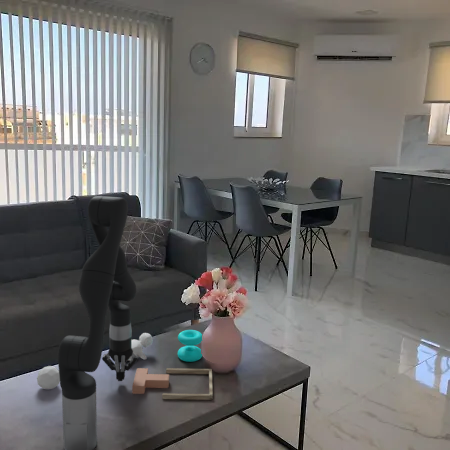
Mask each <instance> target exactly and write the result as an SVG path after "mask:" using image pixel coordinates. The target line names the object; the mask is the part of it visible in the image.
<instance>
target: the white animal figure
mask: <svg viewBox="0 0 450 450" xmlns="http://www.w3.org/2000/svg"><path fill="white" fill-rule="evenodd" d="M153 342H154V340H153V337H152V335H151V334H150V333H148V332H143V333H141V335H139V338H138V339H132V341H131V348H132V350H133V353H134V354H135V355H138V356H139V357H138V358H141V359H142V360H147V359H148V357H147V356H146V354H145V353H144V352H143V348H148V347H149V346H152V344H153ZM131 357H132V356H131ZM131 357H130V358H129V359H128V361H129V362H130V361H131Z"/></svg>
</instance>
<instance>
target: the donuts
mask: <svg viewBox="0 0 450 450" xmlns="http://www.w3.org/2000/svg"><path fill="white" fill-rule="evenodd" d="M202 335H203V334H202V332H201V331H198V330H195V329H185V330H183V331H181V332H180V333H179V334H178V335H177V339H178V342H179V343H180V344H182V345H184V346H181V347H180V348H179V349H178V350H177V357H178V358H179V360H181V361H183V362H186V363H191V362H192V363H194V362H198V361H199V360H200V359H202V357H203V355H202V354H201V350H202V349H201V348H200V347H198V346H197V345H199V344H201V343H202V342H203V340H202ZM201 341H202V342H201Z"/></svg>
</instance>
